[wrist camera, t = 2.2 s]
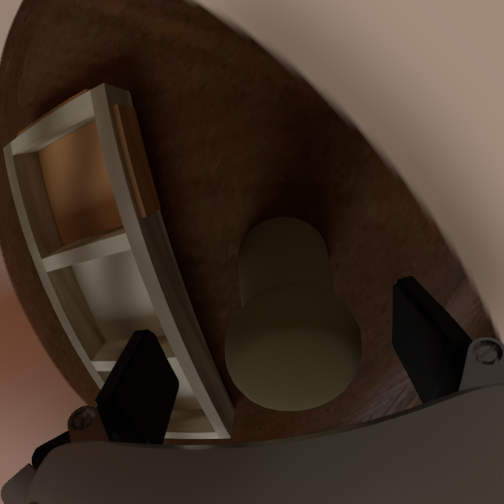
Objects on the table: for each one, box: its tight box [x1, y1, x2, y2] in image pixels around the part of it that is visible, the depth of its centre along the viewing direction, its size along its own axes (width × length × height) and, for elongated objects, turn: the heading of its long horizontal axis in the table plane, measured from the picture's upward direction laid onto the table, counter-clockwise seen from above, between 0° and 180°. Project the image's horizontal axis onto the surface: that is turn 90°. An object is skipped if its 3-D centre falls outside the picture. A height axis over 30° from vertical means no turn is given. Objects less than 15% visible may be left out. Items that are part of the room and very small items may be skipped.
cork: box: [225, 217, 362, 411], centre depth 14 cm, size 6×6×11 cm
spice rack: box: [3, 83, 235, 439], centre depth 19 cm, size 10×28×4 cm, turn 13°
